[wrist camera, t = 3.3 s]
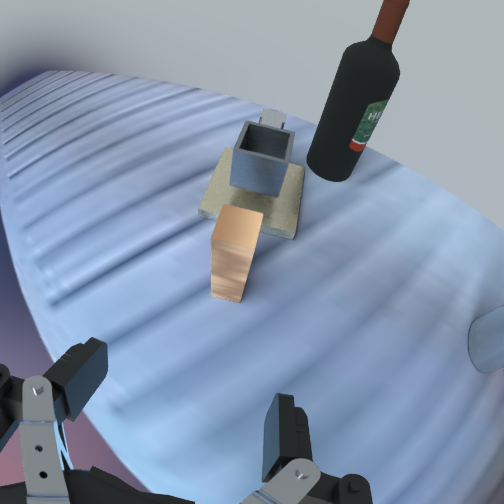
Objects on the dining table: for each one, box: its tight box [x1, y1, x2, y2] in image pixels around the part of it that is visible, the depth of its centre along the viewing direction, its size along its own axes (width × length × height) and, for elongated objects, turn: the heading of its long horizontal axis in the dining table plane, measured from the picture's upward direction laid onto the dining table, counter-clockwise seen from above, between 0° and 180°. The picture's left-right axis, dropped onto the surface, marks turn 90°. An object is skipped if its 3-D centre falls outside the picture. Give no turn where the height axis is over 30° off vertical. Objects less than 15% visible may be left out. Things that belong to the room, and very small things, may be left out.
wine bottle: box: [307, 0, 410, 182], centre depth 30 cm, size 8×8×30 cm
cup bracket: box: [198, 109, 305, 240], centre depth 34 cm, size 12×12×10 cm
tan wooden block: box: [211, 204, 263, 303], centre depth 26 cm, size 3×3×12 cm
